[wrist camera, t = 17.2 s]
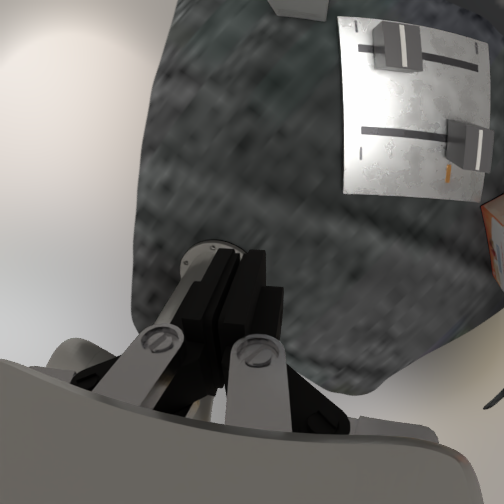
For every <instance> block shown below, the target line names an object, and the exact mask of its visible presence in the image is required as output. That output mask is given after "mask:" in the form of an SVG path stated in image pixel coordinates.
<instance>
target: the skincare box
mask: <svg viewBox="0 0 504 504" xmlns="http://www.w3.org/2000/svg"><path fill="white" fill-rule="evenodd" d="M267 1H268V2H269V4H270V6H271V7H272V9H273V10H274V12H275V13H276V15H277V16H285V17H294V18H302V19H309V20H316V21H322V22H326V17H327V9H328V2H329V0H267Z"/></svg>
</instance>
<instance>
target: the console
mask: <svg viewBox="0 0 504 504" xmlns="http://www.w3.org/2000/svg"><path fill="white" fill-rule="evenodd" d="M336 21H337V32H338V43H339V56H340V72H341V92H342V129H343V164H342V190H343V194H368V195H389V196H407V197H423V198H436V199H449V200H460V201H471V202H480V200H481V194H482V188H483V182H484V175H485V173H484V172H477V171H470V170H463V169H461V168H460V167H458V166H457V165H455V164H454V163H452V162H451V161H449V160H447V159H446V151H447V137H448V119H449V120H455V121H461V122H466V123H471V124H475V125H478V126H481V127H484V128H487V129H489V124H490V66H489V51H488V44H487V43H484V42H481V41H478V40H475V39H471V38H468V37H465V36H461V35H457V34H454V33H450V32H446V31H442V30H437V29H433V28H428V27H423V26H419V27H420V36H421V48H422V63H423V71H422V72H412V73H405V72H397V71H388V70H378V69H375V53H374V40H373V28H375V27H376V26H377V25H378V24H379V23H380V22H381V21H386V20H378V19H369V18H357V17H341V16H338V17H337V20H336ZM388 22H394V21H388ZM396 23H400V22H396ZM402 24H407V23H402ZM408 25H413V24H408ZM414 26H418V25H414Z"/></svg>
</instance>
